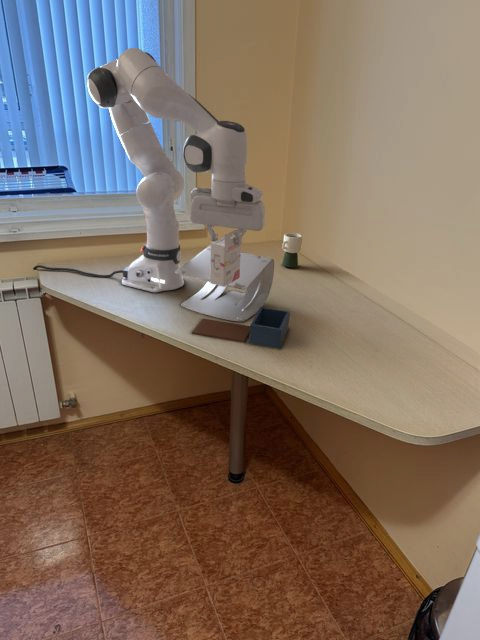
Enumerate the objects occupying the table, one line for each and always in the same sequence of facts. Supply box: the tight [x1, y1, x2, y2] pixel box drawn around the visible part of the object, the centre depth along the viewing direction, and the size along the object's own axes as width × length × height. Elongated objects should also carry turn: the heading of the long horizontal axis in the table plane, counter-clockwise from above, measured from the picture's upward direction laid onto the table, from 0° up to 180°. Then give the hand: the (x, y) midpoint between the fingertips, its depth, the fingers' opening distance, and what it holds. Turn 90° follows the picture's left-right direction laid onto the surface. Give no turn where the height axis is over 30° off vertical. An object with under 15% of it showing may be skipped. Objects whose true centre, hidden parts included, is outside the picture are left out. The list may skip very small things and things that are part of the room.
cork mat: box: [191, 317, 250, 343], centre depth 146 cm, size 16×10×1 cm, turn 74°
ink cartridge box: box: [210, 228, 242, 287], centre depth 135 cm, size 9×5×15 cm, turn 148°
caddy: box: [248, 306, 291, 350], centre depth 143 cm, size 9×13×6 cm
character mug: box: [281, 232, 303, 268], centre depth 195 cm, size 11×7×13 cm, turn 131°
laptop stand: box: [175, 245, 275, 323], centre depth 160 cm, size 26×24×16 cm
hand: (226, 242), depth 133 cm, fingers closed on ink cartridge box, 5 cm apart
